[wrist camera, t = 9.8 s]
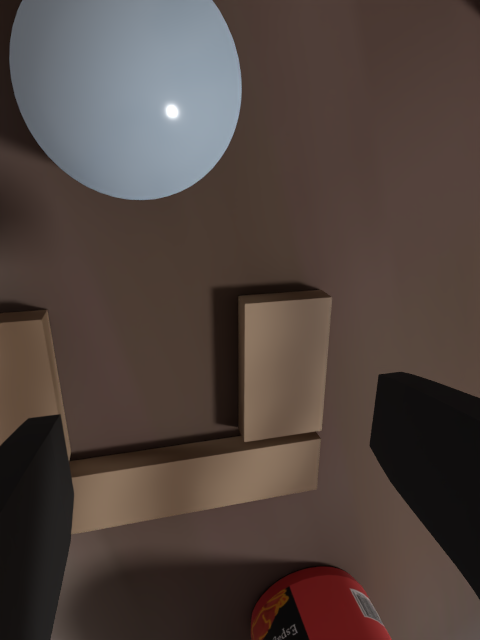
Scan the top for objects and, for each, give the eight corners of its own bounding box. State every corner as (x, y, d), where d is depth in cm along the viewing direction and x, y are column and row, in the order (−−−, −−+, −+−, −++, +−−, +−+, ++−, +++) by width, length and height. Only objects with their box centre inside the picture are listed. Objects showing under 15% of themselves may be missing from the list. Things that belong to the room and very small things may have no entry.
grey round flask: (208, 187, 17) (241, 198, 12) (61, 188, 16) (30, 201, 11) (202, -97, 14) (243, -237, 9) (18, -123, 13) (-51, -302, 8)
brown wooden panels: (-8, 529, 20) (-16, 550, 19) (-64, 317, 16) (-78, 328, 15) (308, 474, 24) (316, 489, 23) (321, 289, 20) (332, 297, 19)
